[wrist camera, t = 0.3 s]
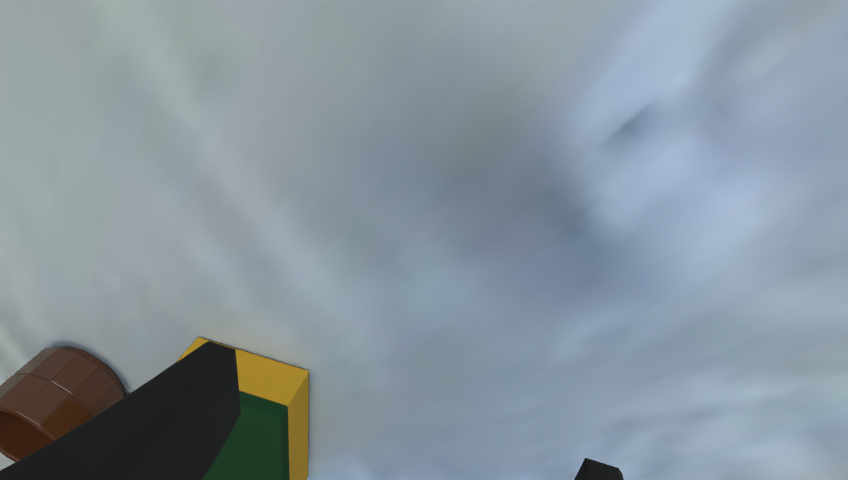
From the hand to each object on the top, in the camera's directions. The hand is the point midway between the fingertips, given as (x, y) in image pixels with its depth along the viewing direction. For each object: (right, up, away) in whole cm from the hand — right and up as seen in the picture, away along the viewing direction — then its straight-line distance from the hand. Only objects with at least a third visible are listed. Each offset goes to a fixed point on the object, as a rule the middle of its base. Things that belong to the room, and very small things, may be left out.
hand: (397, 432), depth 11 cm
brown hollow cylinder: (-19, -4, +21) cm, 29 cm away
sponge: (-8, -5, +19) cm, 21 cm away
